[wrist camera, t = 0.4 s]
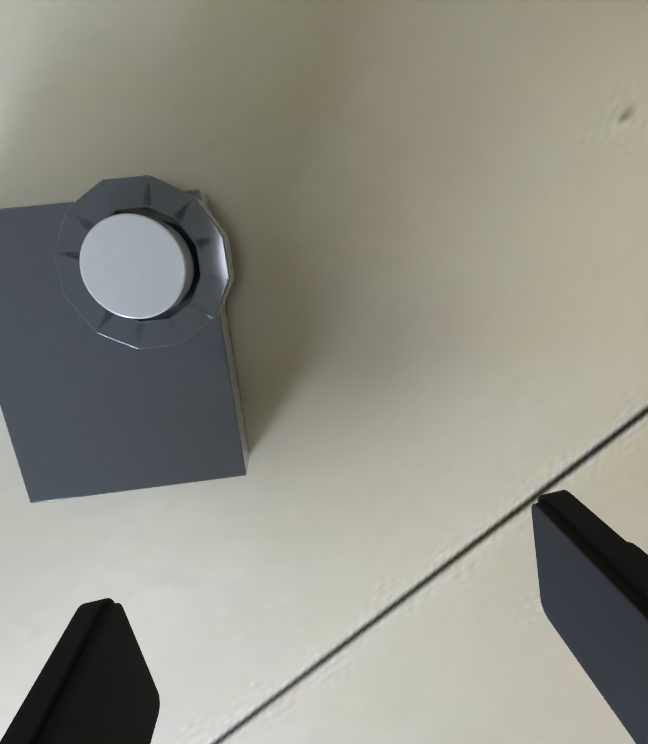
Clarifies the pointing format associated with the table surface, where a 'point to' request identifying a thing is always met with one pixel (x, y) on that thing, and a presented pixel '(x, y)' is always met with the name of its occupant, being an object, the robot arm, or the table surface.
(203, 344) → the plate
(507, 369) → the table surface
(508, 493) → the table surface
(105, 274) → the flush button
